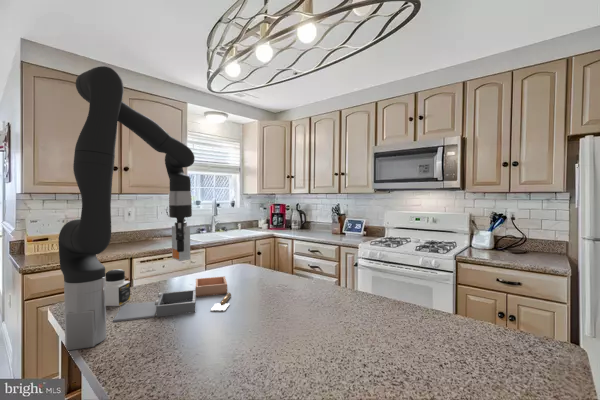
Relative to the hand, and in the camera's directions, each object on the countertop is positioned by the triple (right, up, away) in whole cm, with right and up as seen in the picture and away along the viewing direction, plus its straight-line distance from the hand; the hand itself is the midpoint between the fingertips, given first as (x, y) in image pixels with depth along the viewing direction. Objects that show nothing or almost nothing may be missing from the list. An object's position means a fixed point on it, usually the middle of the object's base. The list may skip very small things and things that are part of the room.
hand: (181, 249), depth 110 cm
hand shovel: (+15, -20, +2) cm, 25 cm away
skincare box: (0, -4, 0) cm, 4 cm away
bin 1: (-7, -20, -3) cm, 22 cm away
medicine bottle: (-25, -20, +3) cm, 33 cm away
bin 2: (+6, -20, +17) cm, 26 cm away
